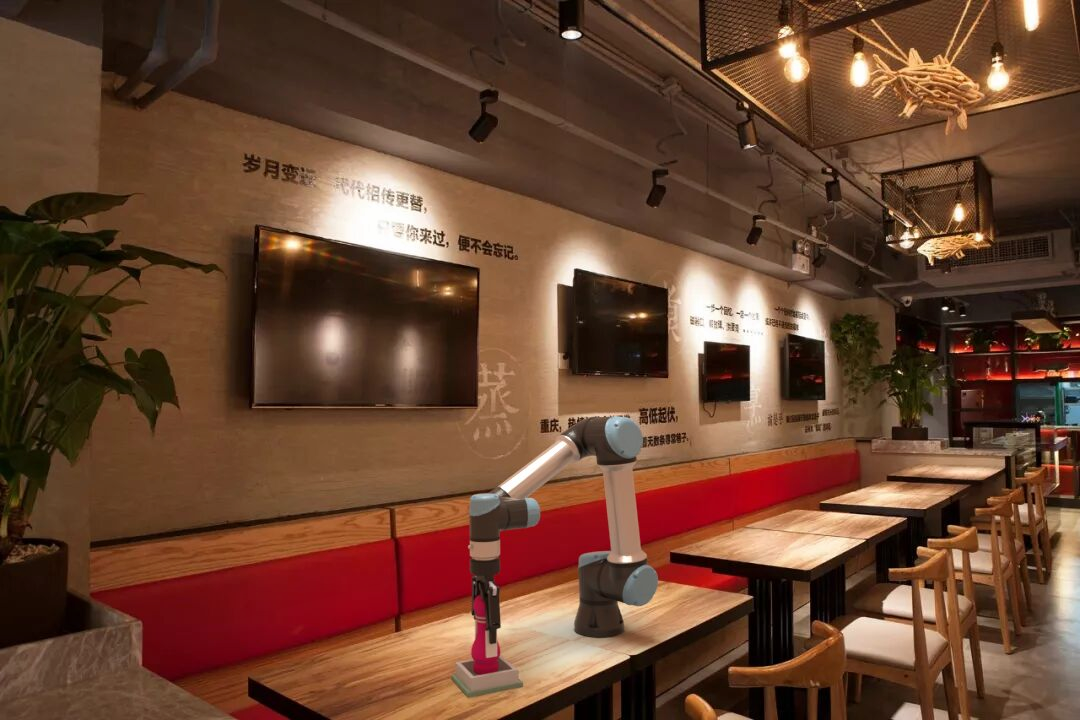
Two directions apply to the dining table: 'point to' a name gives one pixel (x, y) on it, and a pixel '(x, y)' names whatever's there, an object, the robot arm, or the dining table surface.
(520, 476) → the robot arm
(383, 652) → the dining table surface
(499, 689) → the deck socket
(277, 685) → the dining table surface
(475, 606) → the pepper mill
